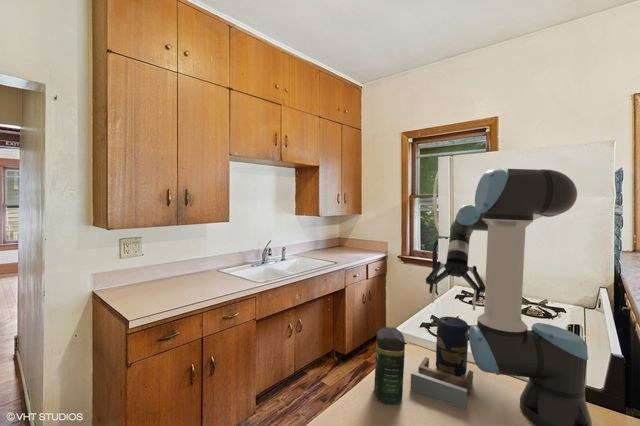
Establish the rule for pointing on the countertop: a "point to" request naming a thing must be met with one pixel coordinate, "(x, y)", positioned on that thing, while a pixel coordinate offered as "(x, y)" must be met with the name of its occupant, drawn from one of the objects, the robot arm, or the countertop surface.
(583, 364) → the robot arm
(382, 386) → the coffee jar
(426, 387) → the backstop wall
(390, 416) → the countertop surface
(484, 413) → the countertop surface
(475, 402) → the countertop surface
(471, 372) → the bracket
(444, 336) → the canister
